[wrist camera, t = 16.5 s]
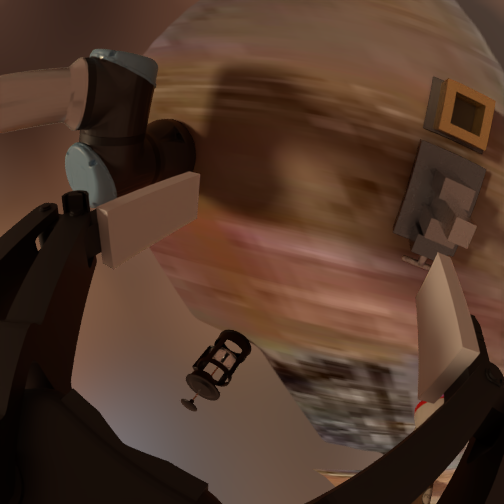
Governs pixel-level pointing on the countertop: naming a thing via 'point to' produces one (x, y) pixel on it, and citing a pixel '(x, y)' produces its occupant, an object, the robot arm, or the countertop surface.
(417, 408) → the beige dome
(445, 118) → the orange-brown square frame
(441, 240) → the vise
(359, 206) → the countertop surface
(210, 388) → the french press
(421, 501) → the wooden container
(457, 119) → the rubber mat
